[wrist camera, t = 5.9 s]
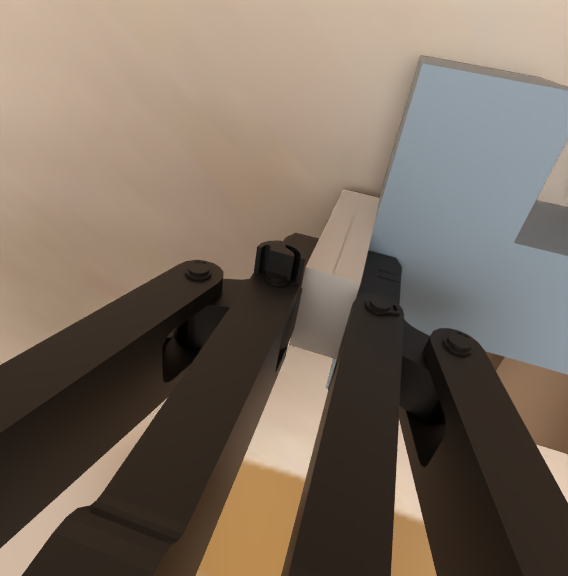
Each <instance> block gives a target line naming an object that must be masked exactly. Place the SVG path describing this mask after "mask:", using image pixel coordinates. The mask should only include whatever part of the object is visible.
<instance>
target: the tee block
mask: <svg viewBox="0 0 568 576" xmlns="http://www.w3.org/2000/svg"><path fill="white" fill-rule="evenodd" d="M567 140H568V87H566V86H563V85H560V84H558V83H555V82H552V81H549V80H546V79H543V78H540V77H535V76H530V75H524V74H519V73H514V72H508V71H503V70H498V69H492V68H487V67H481V66H476V65H471V64H465V63H460V62H454V61H449V60H444V59H438V58H433V57H427V56H422V55H421V57H420V61H419V64H418V67H417V71H416V74H415V78H414V81H413V84H412V88H411V91H410V95H409V98H408V101H407V105H406V108H405V112H404V115H403V118H402V122H401V125H400V129H399V132H398V135H397V139H396V142H395V146H394V149H393V152H392V156H391V159H390V163H389V166H388V170H387V173H386V176H385V180H384V183H383V187H382V190H381V193H380V197H379V198H380V200H379V205H378V209H377V213H376V218H375V222H374V227H373V231H372V236H371V240H370V245H369V249H368V251H371V252H375V253H379V254H383V255H387V256H391V257H394V258H397V260H398V261H399V263H400V264H401V266H402V275H401V290H400V306H401V307H402V308H403V312H404V319H405V320H406V322H408V323H409V324H410V325H411V326H413V327H414V328H416V329H418V330H419V331H421V332H423V333H425V334H427V335H429V336H430V335H431V334H432V332H433V331H434V330H436V329H439V328H451V329H455V330H459V331H461V332H463V333H466V334H468V335H469V336H471V337H472V338H473V339H475V340H476V341H477V342H479V344H480V345H481V346H482V348H483V349H484V350H485V351H486V352H490V353H493V354H497V355H500V356H504V357H507V358H511V359H515V360H518V361H522V362H525V363H529V364H532V365H536V366H539V367H543V368H546V369H550V370H553V371H557V372H560V373H564V374H567V375H568V208H567V207H562V206H558V205H554V204H549V203H545V202H540V201H536V199H537V197H538V195H539V193H540V191H541V190H542V188H543V186H544V184H545V182H546V180H547V178H548V176H549V174H550V172H551V170H552V169H553V167H554V165H555V163H556V161H557V159H558V157H559V155H560V153H561V151H562V149H563V148H564V146H565V144H566V142H567ZM336 360H337V359H335V358H333V362H332V366H331V370H330V373H329V377H328V381H327V385H326V388H328V387H329V384H330V380H331V377H332V374H333V370H334V367H335V364H336Z"/></svg>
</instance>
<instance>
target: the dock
mask: <svg viewBox="0 0 568 576" xmlns="http://www.w3.org/2000/svg"><path fill="white" fill-rule="evenodd" d="M485 352H486V351H485ZM486 354H487V356H488V358H489V360H490V361H491V363H492V365H493V367H494V369H495V371H496V372H497V374H498V376H499V378H500V380H501V382H502V383H503V385H504V387H505V389H506V391H507V393H508V394H509V396H510V398H511V400H512V402H513V404H514V405H515V407H516V409H517V411H518V413H519V415H520V416H521V418H522V420H523V422H524V424H525V426H526V427H527V429H528V431H529V433H530V435H531V437H532V438H533V440H534V442H535V444H537V445H540V446H543V447H547V448H550V449H553V450H556V451H560V452H563V453H566V454H568V375H567V374H564V373H560V372H557V371H553V370H550V369H546V368H543V367H539V366H536V365H532V364H529V363H525V362H522V361H518V360H515V359H511V358H507V357H504V356H500V355H497V354H493V353H490V352H486Z"/></svg>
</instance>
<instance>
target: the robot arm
mask: <svg viewBox="0 0 568 576" xmlns="http://www.w3.org/2000/svg"><path fill="white" fill-rule="evenodd" d="M379 200H380V198H378V197H374V196H370V195H365V194H361V193H357V192H353V191H349V190H345V189H343V191H342V193H341V195H340V197H339V199H338V201H337V203H336V205H335V207H334V209H333V211H332V214H331V216H330V218H329V220H328V222H327V224H326V226H325V228H324V230H323V232H322V234H321V236H320V238H319V239H317V238H313V237H310V236H306V235H302V234H298V233H294V234H292V235H290V236H288V237H286V238H285V240H284V241H283V242H282V241H268V242H264V243H261V244H260V245H259V246H257V252H256V260H255V268H254V273H253V275H252V276H251V278H250V279H246V280H234V279H223V271H222V270H221V268H220V267H219V266H217V265H215V264H214V263H211V262H207V261H203V260H202V261H201V260H193V261H186V262H184V263H181V264H179V265H177V266H175V267H173V268H172V269H170V270H168V271H166V272H165V273H163V274H161V275H159V276H157V277H156V278H154V279H152V280H150V281H149V282H147V283H145V284H143V285H141V286H140V287H138V288H136V289H134V290H133V291H131V292H129V293H127V294H126V295H124V296H122V297H120V298H118V299H117V300H115V301H113V302H111V303H110V304H108V305H106V306H104V307H103V308H101V309H99V310H97V311H95V312H94V313H92V314H90V315H88V316H87V317H85V318H83V319H81V320H79V321H78V322H76V323H74V324H72V325H71V326H69V327H67V328H65V329H64V330H62V331H60V332H58V333H56V334H55V335H53V336H51V337H49V338H48V339H46V340H44V341H42V342H40V343H39V344H37V345H35V346H33V347H32V348H30V349H28V350H26V351H25V352H23V353H21V354H19V355H17V356H16V357H14V358H12V359H10V360H9V361H7V362H5V363H3V364H1V365H0V548H1V547H2V546H3V545H4V544H6V543H7V542H8V541H9V540H10V539H11V538H12V537H13V536H14V535H16V534H17V533H18V532H19V531H20V530H21V529H22V528H23V527H24V526H25V525H27V524H28V523H29V522H30V521H31V520H32V519H33V518H34V517H36V516H37V515H38V514H39V513H40V512H41V511H42V510H43V509H44V508H45V507H47V506H48V505H49V504H50V503H51V502H52V501H53V500H54V499H55V498H57V497H58V496H59V495H60V494H61V493H62V492H63V491H64V490H65V489H67V488H68V487H69V486H70V485H71V484H72V483H73V482H74V481H75V480H77V479H78V478H79V477H80V476H81V475H82V474H83V473H84V472H85V471H87V470H88V469H89V468H90V467H91V466H92V465H93V464H94V463H95V462H97V461H98V460H99V459H100V458H101V457H102V456H103V455H104V454H105V453H106V452H108V451H109V450H110V449H111V448H112V447H113V446H114V445H115V444H116V443H118V442H119V440H121V439H122V438H123V437H124V436H125V435H127V434H128V433H129V432H130V431H131V430H132V429H133V428H134V427H135V426H137V425H138V424H139V423H140V422H141V421H142V420H143V419H144V418H145V417H147V416H148V415H149V414H150V413H151V412H152V411H153V410H154V409H155V408H157V407H158V406H159V405H160V404H161V403H162V402H163V401H164V400H165V399H167V400H166V401H165V403H164V404H163V406H162V407H161V409H160V410H159V411H158V413H157V414H156V416H155V417H154V419H153V420H152V422H151V423H150V425H149V426H148V427H147V429H146V430H145V432H144V433H143V435H142V436H141V438H140V439H139V441H138V442H137V443H136V445H135V446H134V448H133V450H132V451H131V452H130V454H129V455H128V457H127V458H126V460H125V461H124V462H123V464H122V465H121V467H120V468H119V470H118V471H117V472H116V474H115V476H114V477H113V478H112V480H111V481H110V483H109V484H108V486H107V487H106V488H105V490H104V491H103V493H102V494H101V495H100V497H99V498H98V499H97V501H95V502H94V503H93V504H92V505H90V506H85V507H81V508H77V509H76V510H75V511H73V512H72V513H71V514H69V515H68V516H67V517H66V518H65V519H64V521H63V522H62V523H61V524H60V525H59V526H58V528H57V529H56V530H55V531H54V532H53V534H52V535H51V536H50V538H49V539H48V540H47V542H46V543H45V544H44V546H43V547H42V549H41V550H40V551H39V553H38V554H37V555H36V557H35V558H34V559H33V561H32V562H31V564H30V565H29V566H28V568H27V569H26V571H25V572H24V573H23V575H22V576H196V573H197V570H198V568H199V566H200V563H201V561H202V559H203V556H204V554H205V551H206V549H207V546H208V544H209V541H210V539H211V537H212V534H213V531H214V529H215V527H216V524H217V522H218V519H219V517H220V515H221V512H222V510H223V507H224V505H225V502H226V500H227V498H228V495H229V493H230V490H231V488H232V485H233V483H234V480H235V478H236V476H237V473H238V471H239V468H240V466H241V463H242V461H243V459H244V456H245V454H246V451H247V449H248V446H249V444H250V442H251V439H252V437H253V434H254V432H255V429H256V427H257V424H258V422H259V420H260V417H261V415H262V412H263V410H264V407H265V405H266V402H267V400H268V398H269V395H270V393H271V390H272V388H273V385H274V383H275V381H276V378H277V376H278V373H279V371H280V368H281V366H282V363H283V361H284V359H285V356H286V351H287V346H288V342H289V340H290V344H289V345H292V346H295V347H299V348H302V349H305V350H309V351H312V352H315V353H318V354H322V355H325V356H328V357H332V358H335V359H337V360H336V364H335V367H334V370H333V374H332V377H331V380H330V384H329V387H328V394H327V398H326V402H325V406H324V409H323V413H322V417H321V421H320V425H319V429H318V433H317V437H316V441H315V445H314V449H313V453H312V457H311V460H310V464H309V468H308V472H307V476H306V480H305V484H304V488H303V492H302V496H301V500H300V504H299V508H298V512H297V516H296V520H295V523H294V527H293V531H292V535H291V539H290V543H289V547H288V551H287V555H286V559H285V563H284V567H283V571H282V574H281V576H391V559H392V540H393V520H394V502H395V483H396V463H397V444H398V425H399V420H400V425H401V429H402V433H403V437H404V441H405V445H406V449H407V454H408V458H409V462H410V466H411V470H412V474H413V479H414V483H415V487H416V491H417V495H418V499H419V503H420V508H421V512H422V516H423V520H424V524H425V528H426V532H427V537H428V541H429V545H430V549H431V553H432V557H433V561H434V566H435V570H436V574H437V576H568V503H567V501H566V499H565V497H564V495H563V494H562V492H561V490H560V488H559V486H558V484H557V483H556V481H555V479H554V477H553V475H552V473H551V471H550V470H549V468H548V466H547V464H546V462H545V460H544V459H543V457H542V455H541V453H540V451H539V449H538V448H537V446H536V444H535V442H534V440H533V438H532V437H531V435H530V433H529V431H528V429H527V427H526V426H525V424H524V422H523V420H522V418H521V416H520V415H519V413H518V411H517V409H516V407H515V405H514V404H513V402H512V400H511V398H510V396H509V394H508V393H507V391H506V389H505V387H504V385H503V383H502V382H501V380H500V378H499V376H498V374H497V372H496V371H495V369H494V367H493V365H492V363H491V361H490V360H489V358H488V356H487V354H486V352H485V350H484V349H483V348H482V346H481V345H480V344H479V342H477V341H476V340H475V339H473V338H472V337H471V336H469V335H468V334H466V333H463V332H461V331H459V330H455V329H451V328H439V329H436V330H434V331H433V332H432V334H431V335H430V336H429V335H427V334H425V333H423V332H421V331H419V330H418V329H416V328H414V327H413V326H411V325H410V324H409V323H408V322H406V320H405V319H404V312H403V308H402V307H401V306H400V290H401V275H402V266H401V264H400V263H399V261H398V260H397V258H394V257H391V256H387V255H383V254H379V253H375V252H371V251H368V249H369V245H370V240H371V236H372V231H373V227H374V222H375V218H376V213H377V209H378V205H379ZM290 338H291V339H290Z"/></svg>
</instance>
